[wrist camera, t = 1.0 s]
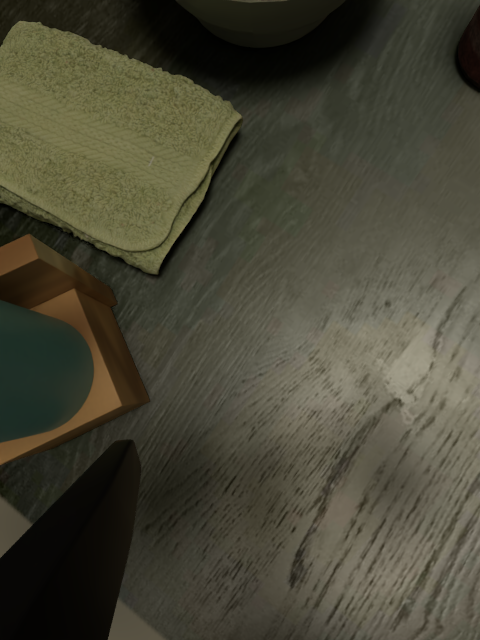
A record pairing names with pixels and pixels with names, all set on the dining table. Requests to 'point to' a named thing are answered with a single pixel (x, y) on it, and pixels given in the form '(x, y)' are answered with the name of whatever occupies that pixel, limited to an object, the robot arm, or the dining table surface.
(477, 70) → the can
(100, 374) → the stepped wooden block
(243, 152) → the dining table surface
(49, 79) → the washcloth
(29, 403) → the teal cup
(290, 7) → the bowl
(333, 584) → the dining table surface
